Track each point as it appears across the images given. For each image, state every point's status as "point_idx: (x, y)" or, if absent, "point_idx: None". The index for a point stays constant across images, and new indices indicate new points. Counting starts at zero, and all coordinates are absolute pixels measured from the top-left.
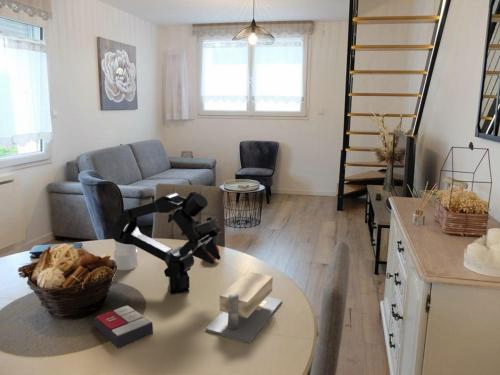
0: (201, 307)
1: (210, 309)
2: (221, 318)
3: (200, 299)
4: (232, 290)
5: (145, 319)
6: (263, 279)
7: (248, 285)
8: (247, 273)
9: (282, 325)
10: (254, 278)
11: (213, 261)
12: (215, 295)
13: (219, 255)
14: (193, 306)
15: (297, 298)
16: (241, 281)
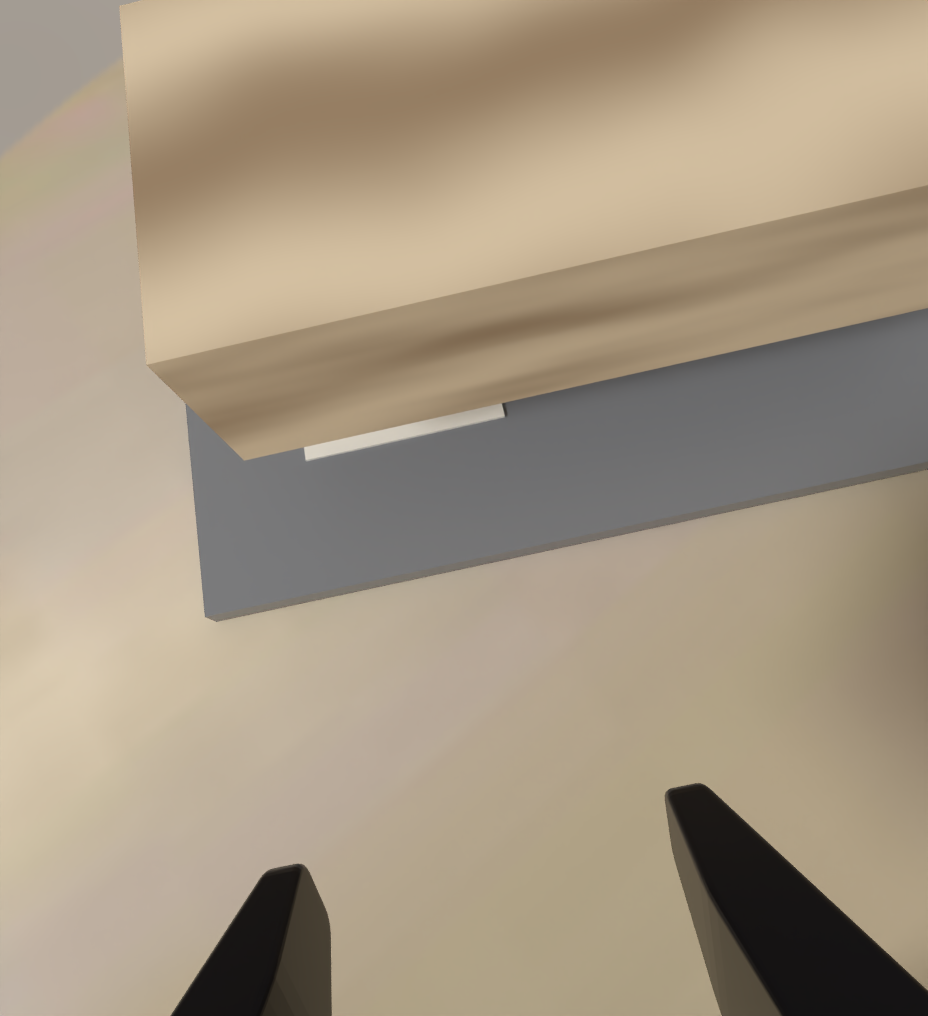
0: (817, 815)
1: (769, 688)
2: (864, 420)
3: (678, 984)
4: (896, 102)
5: None
6: (276, 30)
7: (583, 51)
8: (226, 312)
9: None
10: (324, 130)
11: (705, 806)
12: (465, 885)
13: (241, 935)
14: (878, 925)
15: (40, 174)
16: (544, 196)
